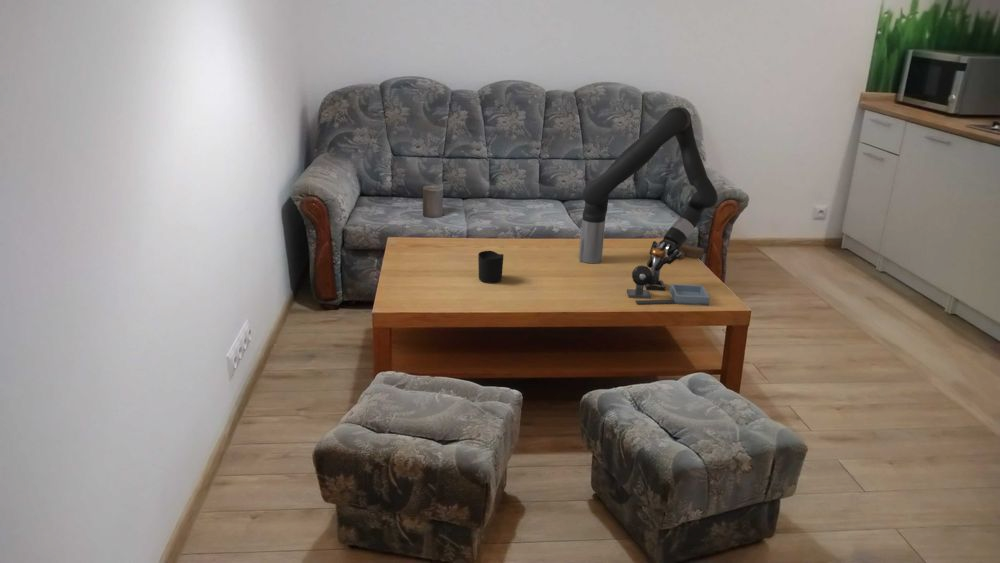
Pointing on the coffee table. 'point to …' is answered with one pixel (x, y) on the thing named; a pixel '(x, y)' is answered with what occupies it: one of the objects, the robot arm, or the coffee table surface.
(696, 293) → the tray
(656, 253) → the pin
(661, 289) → the frame
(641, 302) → the strip
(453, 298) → the coffee table surface
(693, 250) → the wooden block set
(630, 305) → the coffee table surface
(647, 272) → the pulley stand
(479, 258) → the pen holder
